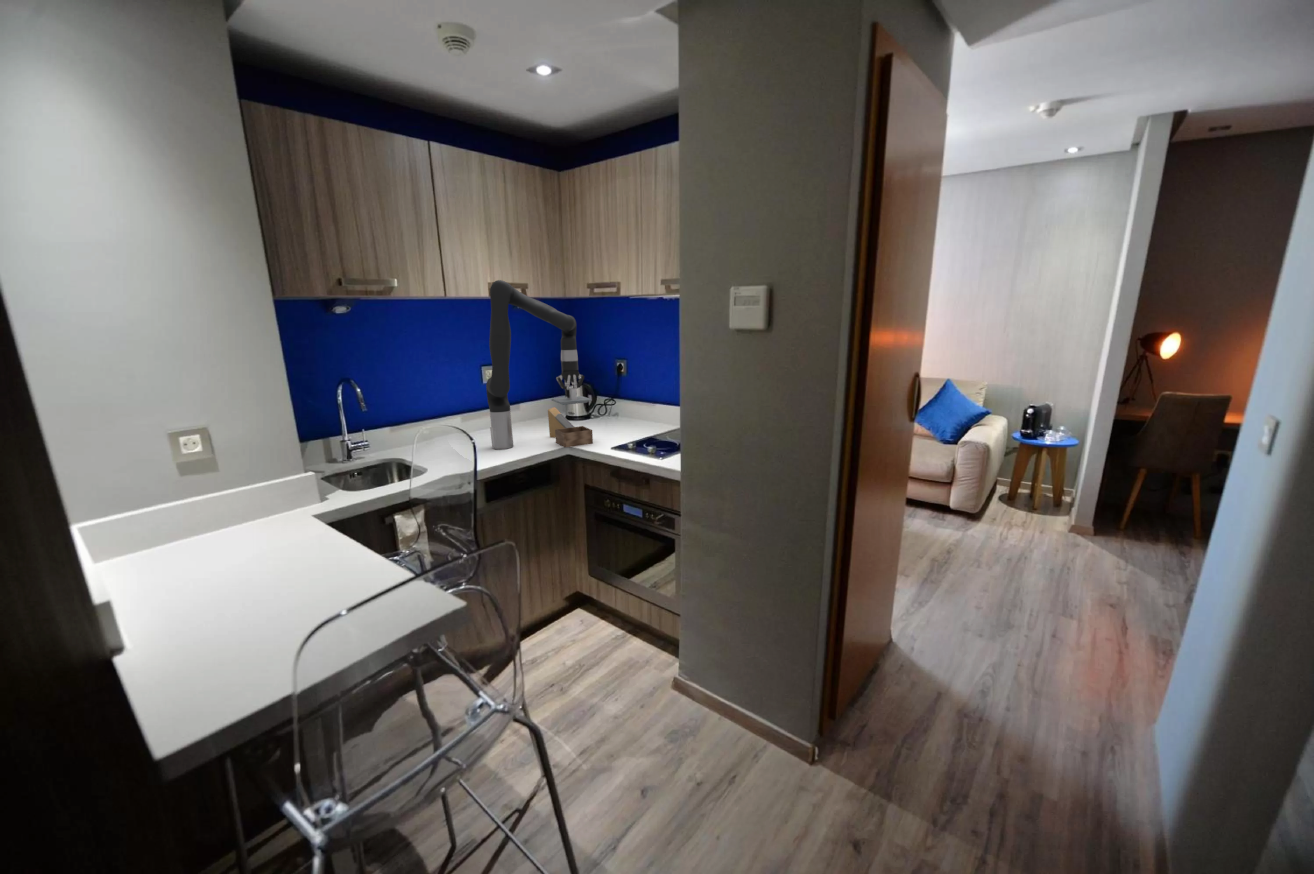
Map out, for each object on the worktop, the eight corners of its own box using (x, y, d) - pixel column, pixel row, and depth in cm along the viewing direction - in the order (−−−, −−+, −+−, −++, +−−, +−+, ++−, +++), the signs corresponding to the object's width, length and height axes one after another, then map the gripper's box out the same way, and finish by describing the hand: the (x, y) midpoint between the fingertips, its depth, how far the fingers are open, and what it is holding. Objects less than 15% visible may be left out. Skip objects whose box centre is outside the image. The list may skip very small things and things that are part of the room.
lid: (560, 405, 235) (560, 391, 234) (551, 402, 246) (550, 388, 245) (592, 402, 242) (591, 388, 241) (581, 399, 253) (581, 385, 252)
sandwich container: (578, 439, 259) (576, 409, 255) (549, 439, 262) (547, 409, 259) (584, 435, 267) (582, 406, 264) (556, 435, 270) (554, 406, 267)
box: (564, 448, 240) (563, 433, 239) (556, 443, 250) (555, 429, 249) (593, 444, 247) (592, 430, 245) (583, 439, 257) (582, 426, 255)
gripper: (557, 361, 233) (559, 399, 237) (586, 359, 240) (588, 397, 244) (552, 360, 240) (554, 397, 244) (580, 358, 246) (582, 395, 250)
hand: (571, 397), depth 244 cm, fingers closed on lid, 2 cm apart
